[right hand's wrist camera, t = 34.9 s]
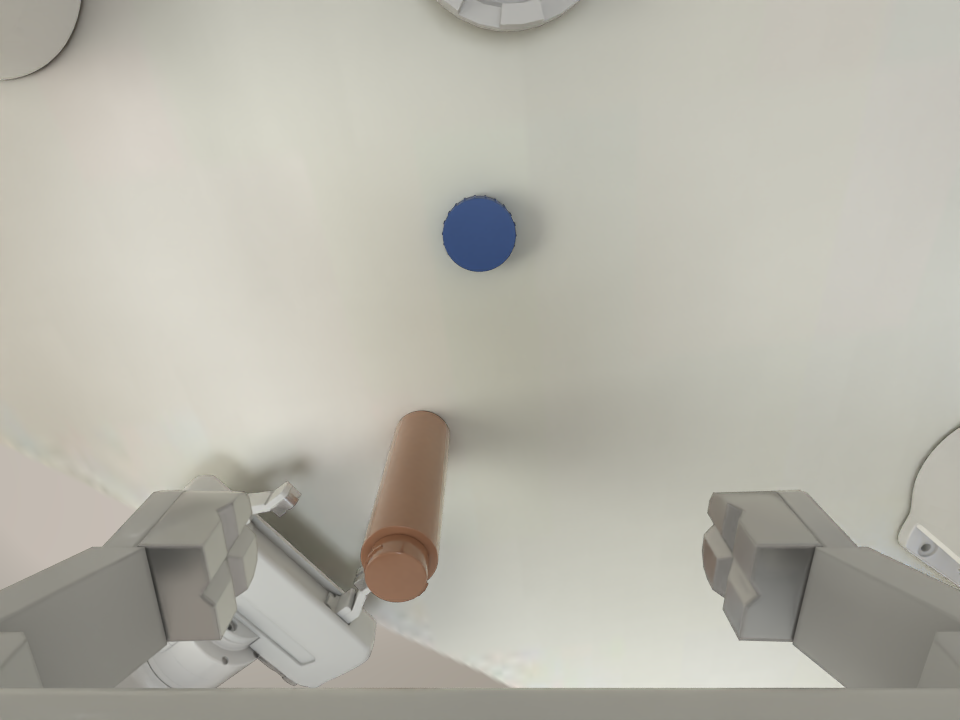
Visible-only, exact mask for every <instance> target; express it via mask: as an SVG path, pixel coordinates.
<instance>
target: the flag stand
mask: <svg viewBox="0 0 960 720" xmlns="http://www.w3.org/2000/svg"><path fill="white" fill-rule="evenodd" d="M437 1H438V2H439V4H440V5H441V6H443V7H444V8H445V9H447V10H448V11H450V12H451V13H452V14H454V15H455V16H456V17H458V18H459V19H461V20H464V21H466V22H468V23H470V24H473V25H475V26H477V27H480V28H485V29H490V30H495V31H522V30H526V29H530V28H534V27H538V26H541V25H543V24H546V23H548V22H550V21H552V20H554V19H556V18H558V17H560V16H561V15H563V14H564V13H565V12H566V11H568V10H569V9H570V8H572V7H573V6H574V5H576V4H577V3H578V2H579V1H580V0H437Z"/></svg>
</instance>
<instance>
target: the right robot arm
mask: <svg viewBox="0 0 960 720" xmlns="http://www.w3.org/2000/svg"><path fill="white" fill-rule="evenodd" d="M252 513H253V512H252V507H251V502H250V497H249V496H248V495H247V494H246V493H245V492H241V491H192V490H190V491H186V490H161V491H157V492H153V493H152V495H151V496H150V497H149V498H148V499H147V500H146V501H145V502H144V503H143V504H142V505H141V506H140V507H139V508H138V509H137V510H136V511H135V513H134V514H133V515H132V516H131V517H130V518H129V519H128V520H127V521H126V522H125V523H124V524H123V525H122V526H121V527H120V528H119V529H118V531H117V532H116V533H115V534H114V535H113V536H112V537H111V538H110V539H109V540H108V541H107V542H106V543H105V544H104V545H103V546H102V547H91V548H89V549H87V550H85V551H83V552H81V553H79V554H76V555H74V556H72V557H70V558H68V559H66V560H64V561H62V562H60V563H57V564H55V565H53V566H51V567H49V568H47V569H45V570H42V571H40V572H38V573H36V574H34V575H32V576H30V577H28V578H25V579H23V580H21V581H19V582H17V583H15V584H13V585H11V586H8V587H6V588H4V589H2V590H0V720H960V590H958V589H956V588H953V587H951V586H949V585H947V584H945V583H943V582H941V581H939V580H936V579H934V578H932V577H930V576H928V575H926V574H924V573H922V572H920V571H917V570H915V569H913V568H911V567H909V566H907V565H905V564H903V563H900V562H898V561H896V560H894V559H892V558H890V557H888V556H886V555H883V554H881V553H879V552H877V551H875V550H873V549H871V548H869V547H858V546H857V545H856V544H855V543H854V542H853V541H852V540H851V539H850V538H849V537H848V536H847V535H846V534H845V533H844V532H843V530H842V529H841V528H840V527H839V526H838V525H837V524H836V523H835V522H834V521H833V520H832V519H831V518H830V517H829V516H828V515H827V514H826V512H825V511H824V510H823V509H822V508H821V507H820V506H819V505H818V504H817V503H816V502H815V501H814V500H813V499H812V498H811V497H810V495H809V494H808V493H806V492H804V491H801V490H782V491H757V492H715V493H713V494H712V496H711V498H710V501H709V506H708V512H707V513H708V515H709V517H710V518H711V520H712V522H713V523H714V525H713V526H712V527H711V528H710V529H709V530H708V531H707V532H706V533H705V534H704V539H703V547H702V556H703V567H704V570H705V574H706V577H707V580H708V582H709V584H710V586H711V588H712V590H714V591H715V592H717V593H718V594H720V595H721V596H723V597H724V604H723V611H724V613H725V615H726V616H727V618H728V620H729V622H730V624H731V626H732V628H733V630H734V632H735V633H736V635H737V637H738V639H739V640H746V641H782V642H793V645H794V646H795V647H796V648H798V649H799V650H800V651H801V652H803V653H804V654H805V655H806V656H808V657H809V658H810V659H811V660H812V661H814V662H815V663H816V664H817V665H819V666H820V667H821V668H822V669H824V670H825V671H826V672H827V673H828V674H830V675H831V676H832V677H833V678H835V679H836V680H837V681H838V682H840V683H841V684H842V685H843V686H844V687H846V688H114V687H116V686H117V685H118V684H119V683H121V682H122V681H123V680H124V679H126V678H127V677H128V676H129V675H130V674H132V673H133V672H134V671H135V670H137V669H138V668H139V667H140V666H142V665H143V664H144V663H145V662H147V661H148V660H149V659H150V658H151V657H153V656H154V655H155V654H156V653H158V652H159V651H160V650H161V649H163V648H164V647H165V646H166V645H167V642H178V641H213V640H221V639H222V637H223V635H224V634H225V632H226V630H227V628H228V626H229V624H230V622H231V620H232V618H233V616H234V615H235V613H236V611H237V604H236V597H237V596H239V595H240V594H242V593H243V592H245V591H246V590H248V588H249V586H250V584H251V581H252V579H253V577H254V573H255V569H256V565H257V560H258V545H257V538H256V534H255V533H254V532H253V531H252V530H251V529H250V528H249V527H248V526H247V525H246V523H247V522H248V520H249V518H250V517H251V515H252ZM898 543H899V544H900V545H901V546H902V547H903V548H905V549H906V550H907V551H909V552H910V553H911V554H913V555H914V556H916V557H917V558H918V559H920V560H921V561H923V562H924V563H926V564H927V565H928V566H930V567H931V568H933V569H934V570H936V571H937V572H938V573H940V574H941V575H943V576H944V577H946V578H947V579H948V580H950V581H951V582H953V583H954V584H956V585H957V586H958V587H960V427H959V428H958V429H956V430H955V431H954V432H952V433H951V434H950V435H949V436H947V437H946V438H945V439H944V440H943V441H942V442H941V443H940V444H939V445H938V446H937V447H936V448H935V449H934V450H933V451H932V452H931V454H930V455H929V456H928V458H927V459H926V460H925V462H924V464H923V465H922V467H921V469H920V471H919V473H918V475H917V478H916V480H915V483H914V487H913V492H912V502H911V510H910V513H909V515H908V517H907V519H906V521H905V522H904V524H903V526H902V528H901V530H900V532H899V534H898Z"/></svg>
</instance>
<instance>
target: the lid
mask: <svg viewBox="0 0 960 720" xmlns="http://www.w3.org/2000/svg"><path fill="white" fill-rule="evenodd" d="M511 216H512V215H511V213H509V212H508V211H507V209H506V208H505V206H504V204H503V205H502V204H501V203H499V202H498V201H496V199H492V198H489V197H486V195H485V196H476V195H474V196H473V197H469V198H464V200H462V201H460V202H459V203H458V204H457V203H456V204H455V206H454V207H453V208H452V210H451V211H449V212H448V216H447V219H446V221H444V228H443V232H442V235H443V241H444V245H445V248H446V251H447V253H448V255H449V256H450V257H451V259H452V260H453V261H454V262H455V263H456V264H458V265H459V266H461V267H462V268H465V269H467V270H470V271H476V272H483V271H488V270H492V269H494V268H496V267H498V266H500V265H501V264H502V263H503V262H504V261H505V260H506V259H507V258H508V257H509V256H510V254H511V252H512V250H513V247H514V246H515V245H514V244H515V238H516V232H515V223H514V222H513V220H512V218H511Z"/></svg>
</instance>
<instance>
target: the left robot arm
mask: <svg viewBox="0 0 960 720" xmlns="http://www.w3.org/2000/svg"><path fill="white" fill-rule="evenodd" d="M80 5H81V0H0V80H8V79H14V78H18V77H22V76H25V75H28V74H31V73H33V72H35V71H37V70H39V69H40V68H42V67H44V66H45V65H46V64H48V63H49V62H50V61H51V60H52V59H54V58H55V57H56V56H57V55H58V53H59V52H60V51H61V50H62V49H63V47H64V46H65V44H66V43H67V41H68V39H69V38H70V36H71V34H72V32H73V29H74V27H75V24H76V21H77V18H78V14H79V10H80ZM183 490H186V491H190V490H192V491H231V490H230V489H229V488H228V487H227V486H226V485H224V484H223V483H222V482H221V481H220V480H219V479H218V478H217V477H215V476H212V475H203V476H197V477H195V478H194V479H193V480H192V481H191V482H190V483H189V484H188V485H187V486H186V487H185V488H184V489H183ZM247 495H248V496H249V497H250V502H251V507H252V512H253V513H252V515H251V517H250V518H249V520H248V522H247V523H246V525H247V526H248V527H249V528H250V529H251V530H252V531H253V532H254V533H255V534H256V538H257V545H258V560H257V565H256V569H255V573H254V577H253V579H252V581H251V584H250V586H249V588H248V590H246V591H245V592H243V593H242V594H240V595H239V596H237V597H236V604H237V611H236V613H235V615H234V616H233V618H232V620H231V622H230V624H229V626H228V628H227V630H226V632H225V634H224V635H223V637H222V639H221V640H213V641H178V642H167V645H166V646H165V647H164V648H163V649H161V650H160V651H159V652H158V653H156V654H155V655H154V656H153V657H151V658H150V659H149V660H148V661H147V662H145V663H144V664H143V665H142V666H140V667H139V668H138V669H137V670H135V671H134V672H133V673H132V674H130V675H129V676H128V677H127V678H126V679H124V680H123V681H122V682H121V683H119V684H118V685H117V686H116V687H114V688H217V687H218V686H219V685H221V684H222V683H224V682H225V681H226V680H228V679H229V678H231V677H232V676H234V675H235V674H237V673H238V672H239V671H241V670H242V669H243V668H245V667H246V666H248V665H249V664H251V663H252V662H253V661H255V660H256V659H259V660H260V661H261V662H262V663H264V664H265V665H266V666H267V667H269V668H270V669H272V670H274V671H275V672H277V673H278V674H279V675H281V676H282V678H283V679H284V680H285V681H286V682H287V683H289V684H291V685H293V686H295V685H297V684H299V685H301V686H304V687H309V688H317V687H319V686H321V685H322V684H324V683H325V682H327V681H330V680H332V679H334V678H337V677H339V676H341V675H343V674H345V673H347V672H349V671H351V670H352V669H354V668H356V667H358V666H359V665H361V664H363V663H364V662H365V661H367V660H368V658H369V657H370V654H371V652H372V648H373V645H374V640H375V633H376V621H375V619H374V618H373V617H372V616H371V615H370V614H369V613H368V612H366V611H365V610H364V609H363V608H362V607H363V605H364V602H365V600H366V597H367V594H369V593H370V592H371V591H370V590H369V588H368V586H367V584H366V582H365V576H364V568H363V566H361V567H360V568H358V569H357V573H356V578H355V580H354V583H353V584H354V585H355V586H356V587H357V588H358V592H356V591H355V590H354V589H353V588H351V589H350V590H348V591H347V592H344V591H343V590H342V589H341V588H340V587H338V586H337V585H336V584H335V583H334V582H333V581H332V580H331V579H330V578H328V577H327V576H326V575H325V574H324V573H323V572H322V571H321V570H319V569H318V568H317V567H316V566H315V565H314V564H313V563H312V562H311V561H309V560H308V559H307V558H306V557H305V556H304V555H303V554H302V553H300V552H299V551H298V550H297V549H296V548H295V547H294V546H293V545H291V544H290V543H289V542H288V541H287V540H286V539H285V538H284V537H283V536H281V535H280V534H279V533H278V532H277V531H276V530H275V529H274V528H272V527H271V526H270V525H269V524H268V523H267V522H266V521H265V520H264V519H262V518H261V517H260V516H259V515H258V513H263V512H268V511H273V512H274V513H275V514H276V515H277V516H278V517H281V516H282V515H283V514H285V513H286V511H287V510H290V509H291V508H293V507H294V506H295V504H296V503H297V502H298V500H299V499H298V498H299V497H300V496H301V493H300V492H299V491H298V490H297V489H296V488H295V487H294V486H292V485H291V484H290V483H289V482H288V481H287V482H285V483H284V484H283V485H281V486H280V487H279V488H277V489H276V490H275V491H274V492H272V491H267V492H257V493H248V494H247Z"/></svg>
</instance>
